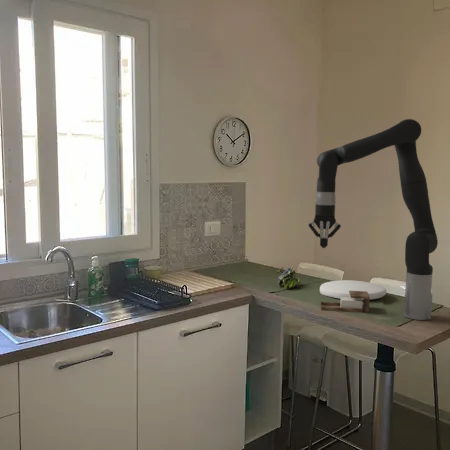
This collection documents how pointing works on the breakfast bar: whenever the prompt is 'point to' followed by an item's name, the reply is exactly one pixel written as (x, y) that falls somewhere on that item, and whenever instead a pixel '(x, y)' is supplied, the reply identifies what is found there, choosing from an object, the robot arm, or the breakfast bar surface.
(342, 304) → the white rectangular block
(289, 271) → the passion flower
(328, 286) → the plate
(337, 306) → the dock
